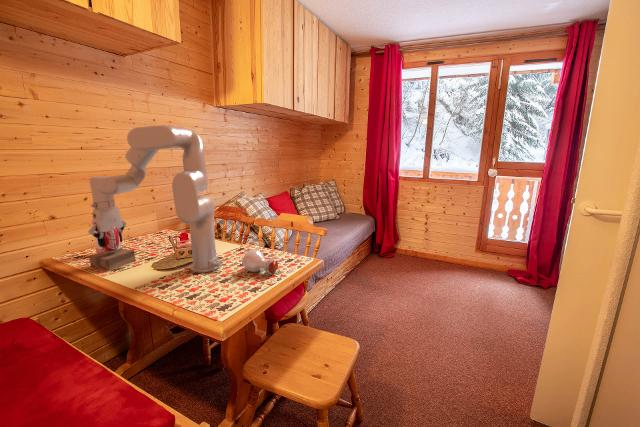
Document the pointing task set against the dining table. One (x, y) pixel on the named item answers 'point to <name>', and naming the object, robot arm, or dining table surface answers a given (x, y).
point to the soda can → (111, 240)
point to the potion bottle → (259, 262)
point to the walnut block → (112, 259)
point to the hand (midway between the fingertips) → (111, 243)
